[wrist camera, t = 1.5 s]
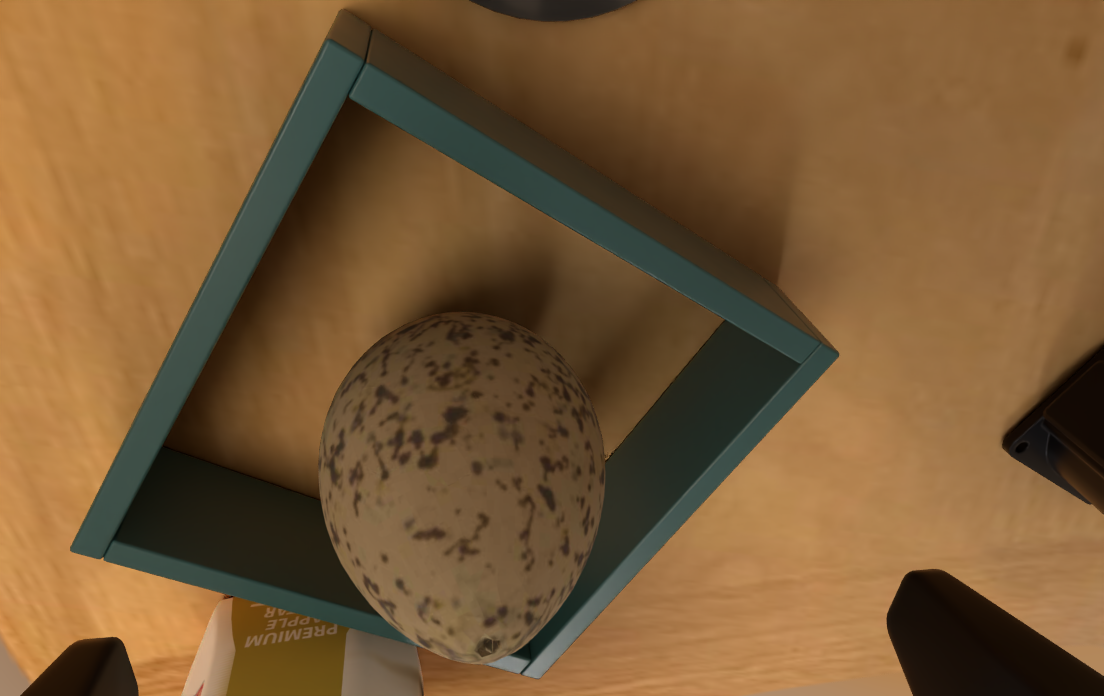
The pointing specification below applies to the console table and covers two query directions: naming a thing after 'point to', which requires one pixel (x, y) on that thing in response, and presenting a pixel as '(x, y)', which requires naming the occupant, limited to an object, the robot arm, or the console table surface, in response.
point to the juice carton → (296, 657)
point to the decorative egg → (463, 482)
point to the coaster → (553, 8)
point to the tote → (555, 189)
